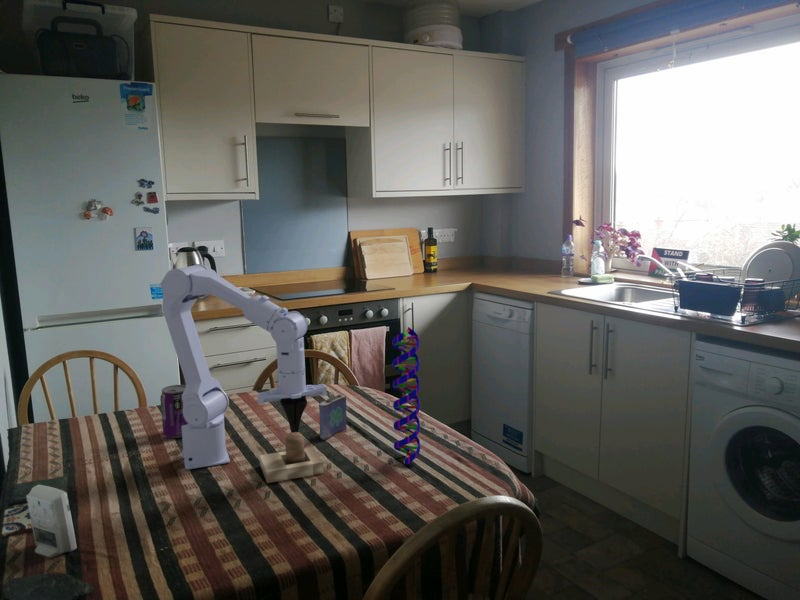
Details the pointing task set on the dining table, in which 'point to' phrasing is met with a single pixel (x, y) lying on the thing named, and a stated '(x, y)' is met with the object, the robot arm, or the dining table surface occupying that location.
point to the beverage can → (172, 410)
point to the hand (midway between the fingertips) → (294, 430)
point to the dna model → (407, 394)
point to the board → (290, 466)
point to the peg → (294, 449)
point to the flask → (332, 416)
